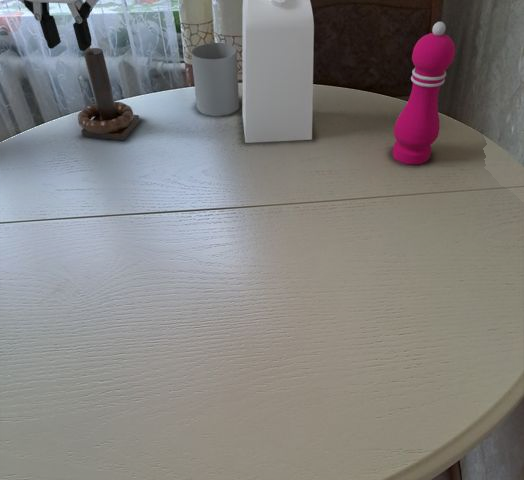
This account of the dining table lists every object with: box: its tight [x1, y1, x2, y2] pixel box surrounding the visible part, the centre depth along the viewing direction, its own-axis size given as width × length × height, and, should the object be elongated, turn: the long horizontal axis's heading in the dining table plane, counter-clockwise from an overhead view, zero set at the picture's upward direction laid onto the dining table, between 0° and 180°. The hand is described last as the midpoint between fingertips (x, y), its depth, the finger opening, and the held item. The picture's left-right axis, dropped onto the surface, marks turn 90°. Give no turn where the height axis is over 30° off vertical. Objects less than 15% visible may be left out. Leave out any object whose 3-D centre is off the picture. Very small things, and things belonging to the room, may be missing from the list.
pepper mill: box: [391, 21, 456, 166], centre depth 78 cm, size 7×7×20 cm
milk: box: [241, 0, 315, 144], centre depth 84 cm, size 12×12×26 cm
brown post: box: [81, 47, 141, 142], centre depth 89 cm, size 8×8×13 cm
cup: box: [190, 42, 240, 117], centre depth 96 cm, size 8×8×10 cm
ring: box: [77, 101, 135, 133], centre depth 92 cm, size 10×10×2 cm
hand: (70, 45), depth 84 cm, fingers open, 5 cm apart
